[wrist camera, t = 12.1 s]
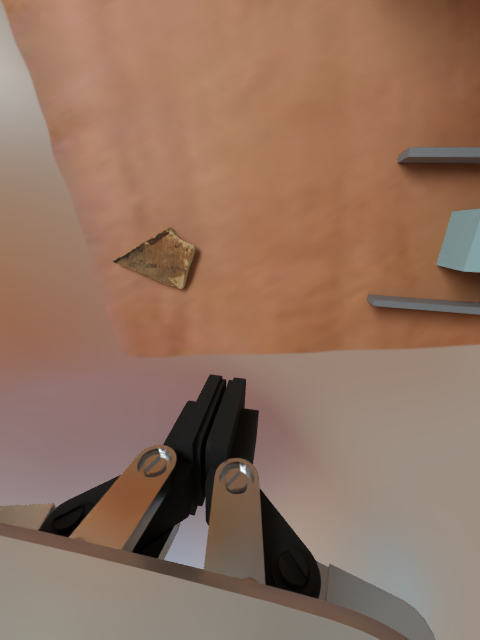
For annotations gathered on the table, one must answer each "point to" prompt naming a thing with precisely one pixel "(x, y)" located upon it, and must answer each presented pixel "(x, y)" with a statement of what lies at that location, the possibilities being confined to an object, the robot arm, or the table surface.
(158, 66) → the table surface
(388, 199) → the table surface
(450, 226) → the teal block
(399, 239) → the table surface
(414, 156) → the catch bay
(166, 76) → the table surface
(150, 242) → the shard
